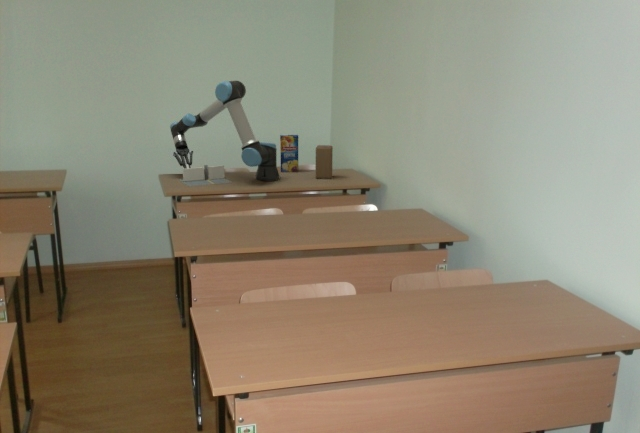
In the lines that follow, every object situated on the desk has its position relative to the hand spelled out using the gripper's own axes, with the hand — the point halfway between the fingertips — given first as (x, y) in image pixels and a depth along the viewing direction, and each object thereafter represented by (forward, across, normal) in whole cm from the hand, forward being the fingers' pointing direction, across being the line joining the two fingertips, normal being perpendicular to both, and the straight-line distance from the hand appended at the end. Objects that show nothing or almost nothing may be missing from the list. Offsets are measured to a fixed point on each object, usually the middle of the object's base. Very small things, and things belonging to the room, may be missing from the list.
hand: (189, 174), depth 389 cm
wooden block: (+22, -81, +16) cm, 85 cm away
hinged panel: (+6, -1, +1) cm, 6 cm away
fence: (+6, -15, +1) cm, 16 cm away
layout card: (+9, -8, +3) cm, 12 cm away
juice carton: (+1, -70, -5) cm, 70 cm away
